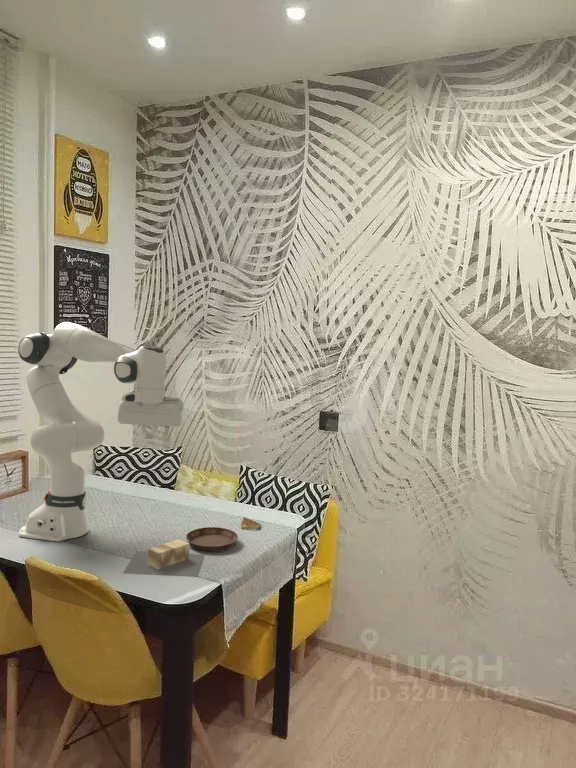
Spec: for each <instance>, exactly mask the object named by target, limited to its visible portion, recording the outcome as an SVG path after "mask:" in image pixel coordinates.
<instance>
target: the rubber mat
mask: <svg viewBox="0 0 576 768" xmlns="http://www.w3.org/2000/svg"><path fill="white" fill-rule="evenodd" d="M204 557H206V554H199V553H189V559H187V560H184V561H181V562H178V563H175V564H172V565H169V566H167V567H164V568H161V569H156V568H154V567H152V566H150V565H148V551H143V550H142V551H139V550H138V551H135V552H134V555H133V556H132V558H131V560H130V561H129V563H128V564H127V565H126V567H125V569H124V570H123V573H122V574H132V575H150V576H151V575H152V576H170V577H191V578H192V577H193V578H195V577H196V578H197V577H199V573H200V571H201V568H202V564H203V561H204Z"/></svg>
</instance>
